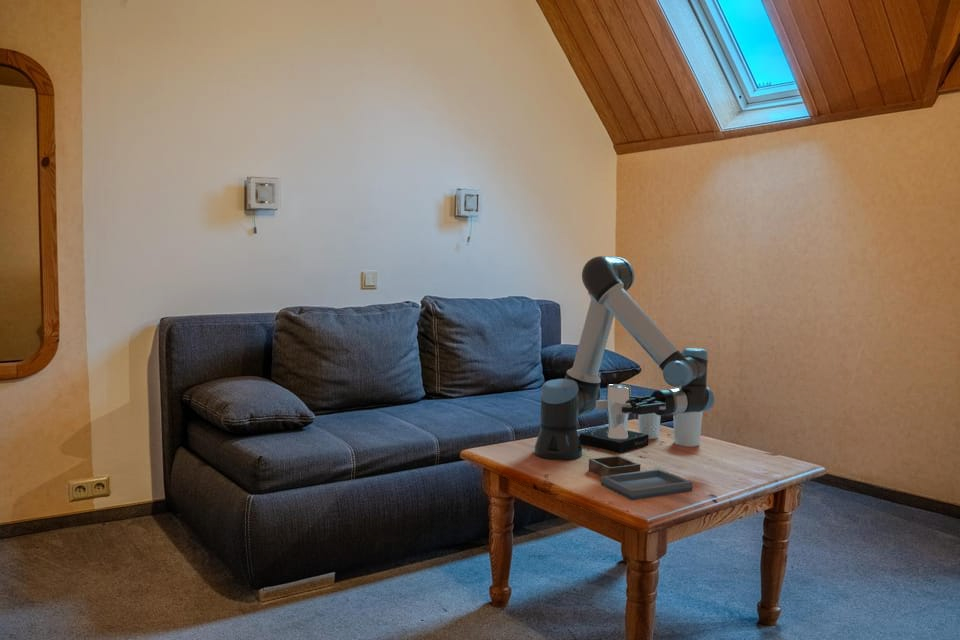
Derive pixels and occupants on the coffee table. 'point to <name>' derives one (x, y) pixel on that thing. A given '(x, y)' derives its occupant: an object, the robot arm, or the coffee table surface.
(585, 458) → the coffee table surface
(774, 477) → the coffee table surface
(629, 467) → the walnut holder
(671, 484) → the slate tray
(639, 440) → the portable cd player
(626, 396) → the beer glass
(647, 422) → the white cup
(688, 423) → the candle holder
